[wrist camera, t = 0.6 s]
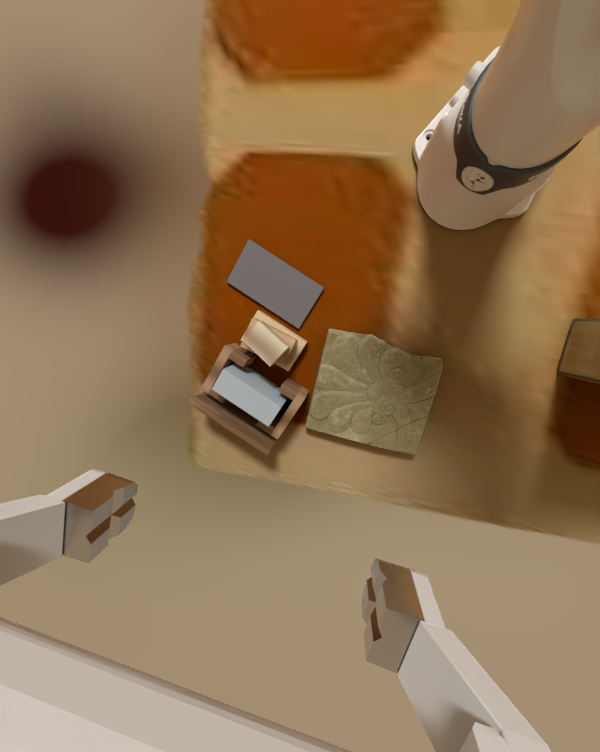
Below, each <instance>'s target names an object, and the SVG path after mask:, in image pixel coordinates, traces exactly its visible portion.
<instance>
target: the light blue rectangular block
mask: <svg viewBox="0 0 600 752" xmlns="http://www.w3.org/2000/svg"><path fill="white" fill-rule="evenodd" d="M279 388H280V387H279V386H277V385H276V384H274V383H273V382H271V381H269V380H268V379H266V378H265V377H263V376H262V375H260V374H259V373H257V372H256V371H254V370H253V369H251V368H250V367H248V366H245V367H241V366H240V365H238V364H237V363H236V364H234V365H231V366H229V367H226V368H224V369H223V370H222V372H221V374H220V375H219V377H218V379H217V381H216V382H215V384H214V386H213V388H212V390H214V391H215V392H217V393H218V394H220V395H221V396H223V397H224V398H226V399H227V400H229V401H230V402H232V403H233V404H235V405H236V406H238V407H239V408H241V409H242V410H244V411H245V412H247V413H248V414H250V415H251V416H253V417H255V418H256V419H258V420H259V421H261V422H262V423H264V424H265V425H267V426H268V427H269V425H270V424H271V423H272V421H273V420H274V418H275V417H276V415H277V414H278V412H279V411H280V409H281V408H282V406H283V405H284V403H285V402H286V400H287V399H288V397H287V396H285V395H284V394H282V393H281V392H279V391H278V390H279Z"/></svg>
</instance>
